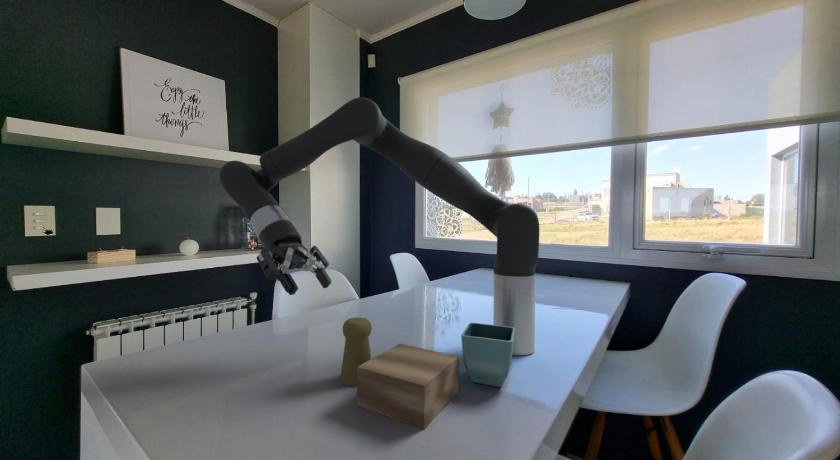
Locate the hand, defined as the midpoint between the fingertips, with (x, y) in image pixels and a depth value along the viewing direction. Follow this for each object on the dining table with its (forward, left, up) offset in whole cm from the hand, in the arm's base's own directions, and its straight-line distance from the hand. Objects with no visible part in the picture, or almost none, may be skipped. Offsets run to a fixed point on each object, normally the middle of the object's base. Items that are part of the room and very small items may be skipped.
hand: (312, 288), depth 66 cm
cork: (0, +12, -16) cm, 19 cm away
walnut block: (+1, +24, -15) cm, 28 cm away
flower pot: (-12, +33, -16) cm, 38 cm away
